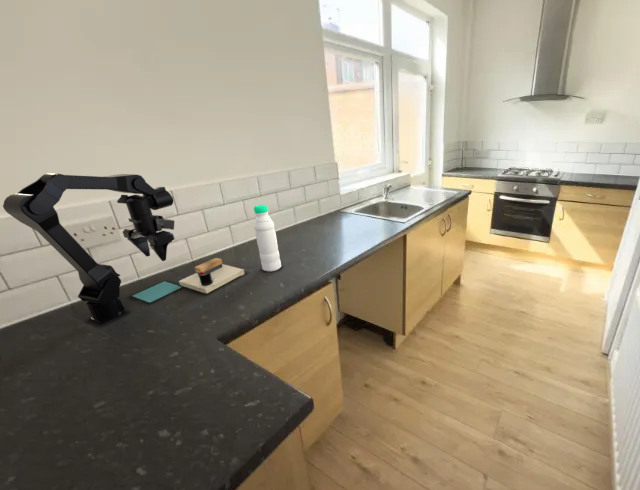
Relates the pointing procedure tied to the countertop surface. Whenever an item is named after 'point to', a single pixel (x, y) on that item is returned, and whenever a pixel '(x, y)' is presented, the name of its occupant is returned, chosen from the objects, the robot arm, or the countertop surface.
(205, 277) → the knob
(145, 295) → the dish cloth
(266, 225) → the water bottle
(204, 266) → the brush
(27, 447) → the countertop surface
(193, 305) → the countertop surface
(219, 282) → the cream rectangular board
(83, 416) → the countertop surface
